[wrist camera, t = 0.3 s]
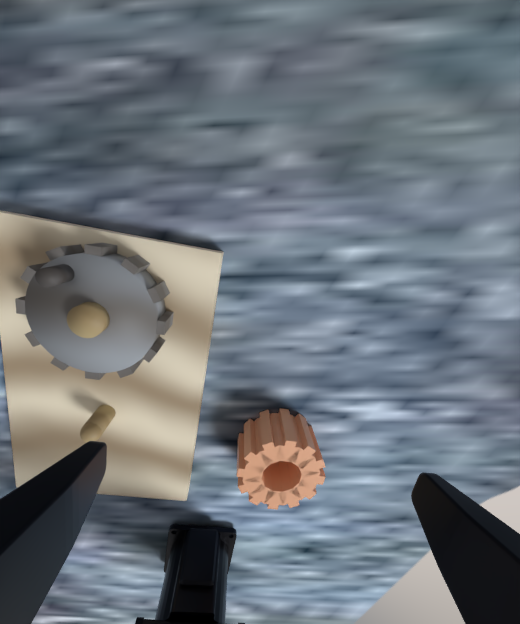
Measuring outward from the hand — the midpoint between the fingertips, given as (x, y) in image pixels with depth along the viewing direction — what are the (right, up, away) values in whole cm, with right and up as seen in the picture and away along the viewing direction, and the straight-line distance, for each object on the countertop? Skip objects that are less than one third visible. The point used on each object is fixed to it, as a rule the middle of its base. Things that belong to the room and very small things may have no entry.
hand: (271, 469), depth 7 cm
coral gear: (+1, -7, +16) cm, 18 cm away
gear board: (-12, -1, +13) cm, 18 cm away
